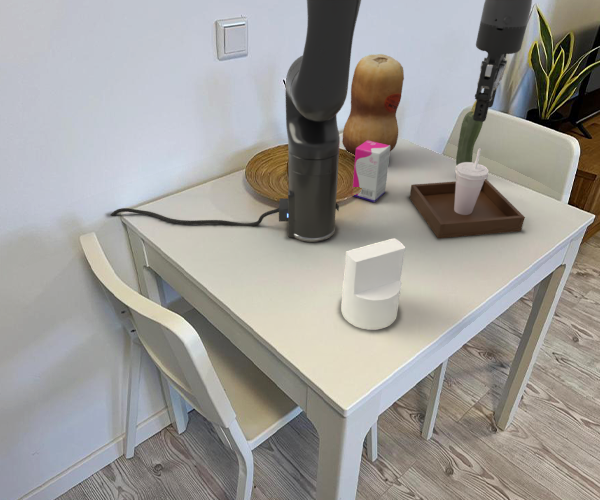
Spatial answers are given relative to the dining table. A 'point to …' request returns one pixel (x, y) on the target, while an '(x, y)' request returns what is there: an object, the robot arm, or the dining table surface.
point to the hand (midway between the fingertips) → (482, 113)
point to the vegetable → (468, 137)
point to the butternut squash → (374, 102)
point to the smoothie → (468, 185)
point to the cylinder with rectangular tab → (372, 284)
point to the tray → (483, 220)
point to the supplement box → (371, 170)
